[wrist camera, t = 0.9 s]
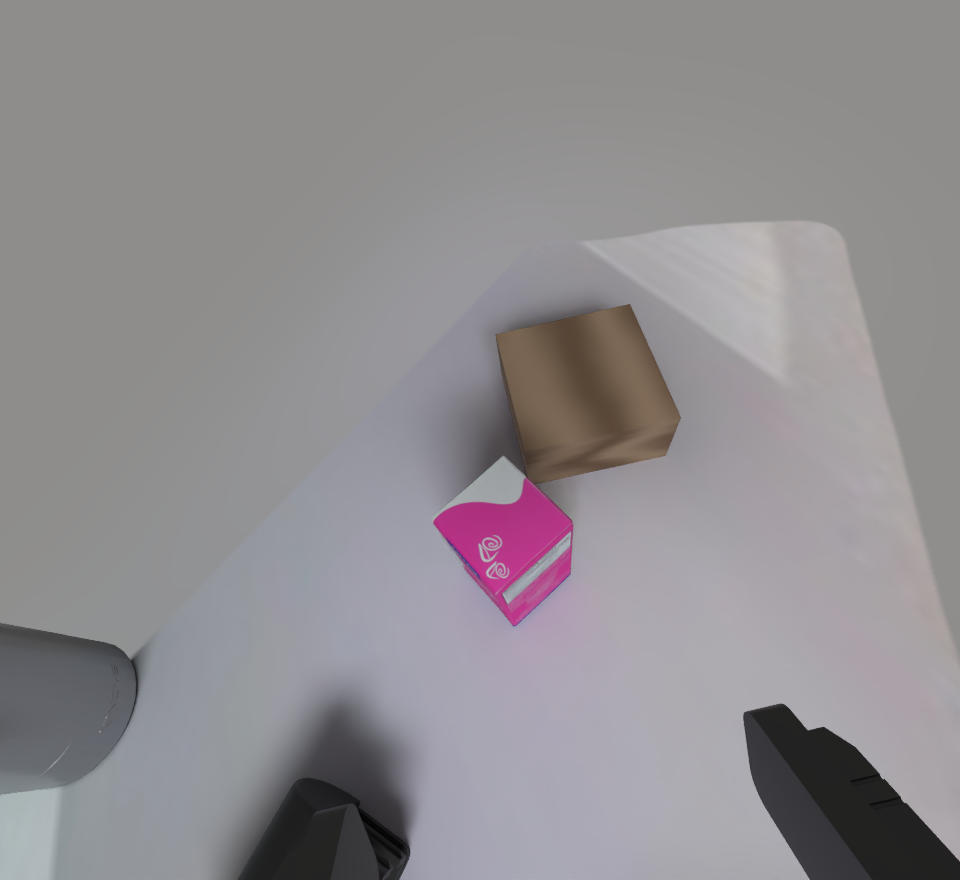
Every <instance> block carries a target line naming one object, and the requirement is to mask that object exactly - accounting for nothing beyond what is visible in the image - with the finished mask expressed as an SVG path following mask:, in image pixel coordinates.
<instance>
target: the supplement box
mask: <svg viewBox="0 0 960 880" xmlns="http://www.w3.org/2000/svg"><path fill="white" fill-rule="evenodd" d="M431 521H432V523H433V524H434V525H435V527H436V528H437V530H438V531H439V533H440V534H441V536H442V537H443V539H444V540H445V542H446V543H447V545H448V546H449V548H450V549H451V551H452V552H453V554H454V555H455V557H456V558H457V560H458V561H459V563H460V564H461V565H462V567H463V568H464V569H465V570H466V572H467V573H468V574H469V575H470V576H471V577H472V578H473V579H474V580H475V582H476V583H477V584H478V585H479V586H480V587H481V588H482V590H483V591H484V592H485V593H486V594H487V595H488V596H489V598H490V599H491V600H492V601H493V602H494V603H495V604H496V606H497V607H498V608H499V609H500V610H501V611H502V613H503V614H504V615H505V616H506V617H507V619H508V620H509V621H510V622H511V624H512V625H513V626H516V625H517V624H519V623H520V622H521V621H522V620H523V619H524V618H525V617H526V616H527V615H528V614H529V613H530V612H531V611H532V610H533V609H534V608H536V607H537V606H538V605H539V604H540V603H541V602H542V601H543V600H544V599H545V598H546V597H547V596H548V595H549V594H550V593H552V592H553V591H554V590H555V589H556V588H557V587H558V586H559V585H560V584H561V583H562V582H563V581H564V580H565V579H566V578H567V577H568V576H569V575H570V571H571V554H572V536H573V522H572V520H571V519H570V518H569V517H568V516H567V515H566V514H565V513H564V512H563V511H562V510H561V509H560V508H559V507H558V506H557V505H556V504H555V503H554V502H553V501H552V500H551V499H550V498H549V497H548V496H547V495H545V494H544V493H543V492H542V491H541V490H540V489H539V488H538V487H537V486H536V485H535V484H534V483H533V482H532V481H531V480H530V479H528V478H527V477H526V476H525V475H524V474H523V473H522V472H521V471H520V470H519V469H518V468H517V467H516V466H515V465H514V464H513V463H512V462H510V461H509V460H508V459H507V458H506V457H505V456H502V457H501V458H500V459H499V460H497V461H496V462H495V463H494V464H493V465H492V466H491V467H489V468H488V469H487V470H486V471H485V472H484V473H483V474H482V475H480V476H479V477H478V478H477V479H476V480H475V481H474V482H472V483H471V484H470V485H469V486H468V487H467V488H466V489H464V490H463V491H462V492H461V493H460V494H459V495H457V496H456V497H455V498H454V499H453V500H451V501H450V502H449V503H448V504H447V505H446V506H444V507H443V508H442V509H441V510H440V511H439V512H437V513H436V514H435V515H434V516H433V517H432V518H431Z"/></svg>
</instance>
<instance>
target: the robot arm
mask: <svg viewBox="0 0 960 880" xmlns="http://www.w3.org/2000/svg"><path fill="white" fill-rule="evenodd" d="M135 696H136V678H135V671H134V668H133V666H132V663H131V661H130V659H129V658H128V656H127V655H126V654H125V653H124V652H123V651H122V650H121V649H119V648H118V647H116V646H115V645H111V644H108V643H104V642H99V641H94V640H88V639H83V638H78V637H72V636H67V635H63V634H57V633H52V632H46V631H41V630H35V629H30V628H24V627H19V626H13V625H8V624H2V623H0V795H1V794H9V793H17V792H25V791H33V790H41V789H49V788H55V787H60V786H65V785H67V784H69V783H72V782H74V781H76V780H78V779H80V778H81V777H83V776H84V775H86V774H87V773H89V772H90V771H92V770H93V769H94V768H95V767H96V766H97V765H98V764H99V763H100V762H101V761H102V760H104V759H105V758H106V756H107V755H108V754H109V753H110V751H111V750H112V749H113V748H114V746H115V745H116V744H117V742H118V740H119V739H120V737H121V735H122V733H123V732H124V730H125V728H126V726H127V723H128V721H129V718H130V716H131V713H132V710H133V706H134V701H135ZM743 719H744V727H745V734H746V742H747V749H748V756H749V764H750V770H751V775H752V778H753V781H754V784H755V787H756V789H757V792H758V794H759V796H760V798H761V800H762V802H763V804H764V806H765V808H766V809H767V811H768V813H769V814H770V816H771V818H772V819H773V821H774V822H775V824H776V826H777V827H778V829H779V830H780V832H781V834H782V835H783V837H784V838H785V840H786V842H787V843H788V845H789V847H790V848H791V850H792V851H793V853H794V855H795V856H796V858H797V859H798V861H799V863H800V864H801V866H802V867H803V869H804V871H805V872H806V874H807V875H808V877H809V879H810V880H960V861H959V860H958V859H957V858H956V857H955V856H954V855H953V854H952V853H951V851H950V850H949V849H948V848H947V847H946V846H945V845H944V844H943V843H942V842H941V841H940V839H939V838H938V837H937V836H936V835H935V834H934V833H933V832H932V831H931V830H930V828H929V827H928V826H927V825H926V824H925V823H924V822H923V821H922V820H921V819H920V818H919V816H918V815H917V814H916V813H915V812H914V811H913V810H912V809H911V808H910V807H909V805H908V804H907V803H904V802H903V801H902V800H901V797H900V796H899V795H898V793H897V792H896V791H895V790H894V789H893V788H892V787H891V786H890V785H889V784H888V782H887V781H886V780H885V779H882V778H881V776H880V774H879V773H878V772H877V770H876V769H875V768H874V767H873V766H872V765H871V764H870V763H869V762H868V761H867V759H866V758H865V757H864V756H863V755H862V754H861V753H860V752H859V751H858V750H857V749H856V747H854V746H853V745H851V744H850V743H848V742H847V741H845V740H843V739H842V738H840V737H839V736H837V735H836V734H834V733H833V732H831V731H829V730H828V729H826V728H825V727H821V728H817V729H812V730H807V729H806V728H805V727H804V726H803V724H802V723H801V722H800V721H799V720H798V718H797V717H796V716H795V715H794V714H793V712H792V711H791V710H790V709H789V708H788V707H787V706H786V705H784V704H777V705H772V706H768V707H764V708H760V709H755V710H751V711H747V712H745V713H744V715H743ZM271 880H379V871H378V864H377V859H376V856H375V853H374V850H373V848H372V845H371V843H370V840H369V838H368V835H367V833H366V830H365V828H364V825H363V822H362V820H361V817H360V815H359V812H358V810H357V808H356V806H355V805H354V804H352V803H351V804H347V805H343V806H338V807H334V808H330V809H326V810H321V811H317V812H316V813H314V815H313V816H312V819H311V821H310V824H309V828H308V831H307V835H306V838H305V842H304V845H303V848H299V849H295V850H290V851H289V852H288V854H287V855H286V857H285V859H284V860H283V862H282V863H281V865H280V866H279V868H278V870H277V871H276V873H275V874H274V876H273V878H272V879H271Z"/></svg>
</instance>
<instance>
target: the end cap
mask: <svg viewBox="0 0 960 880" xmlns="http://www.w3.org/2000/svg"><path fill="white" fill-rule="evenodd" d="M351 803H352V804H354V805H355V806H356V808H357V810H358V812H359V815H360V817H361V820H362V822H363V825H364V828H365V830H366V833H367V835H368V838H369V840H370V843H371V845H372V848H373V850H374V853H375V856H376V859H377V864H378V871H379V880H399V879H400V877H401V875H402V873H403V871H404V869H405V867H406V864H407V862H408V860H409V856H410V850H409V847H408V846H407V844H406V843H405V842H404V841H402V840H401V839H400V838H398V837H397V836H396V835H394V834H393V833H392V832H391V831H389V830H388V829H387V828H385V827H384V826H383V825H381V824H380V823H379V822H377V821H376V820H375V819H373V818H372V817H371V816H369V815H368V814H367V813H366V812H364V811H363V810H362V809H360V808H358V806H359V804H360V801H358V800H357V799H356V798H354V797H353V796H351V795H350V794H348V793H346V792H345V791H343V790H341V789H339V788H337V787H335V786H333V785H331V784H329V783H326V782H324V781H321V780H317V779H311V778H303V779H300V780H298V781H296V782H295V783H294V785H293V786H292V788H291V789H290V791H289V793H288V795H287V796H286V798H285V800H284V801H283V803H282V805H281V807H280V808H279V810H278V812H277V813H276V815H275V817H274V819H273V820H272V822H271V824H270V825H269V827H268V829H267V831H266V832H265V834H264V836H263V838H262V839H261V841H260V843H259V844H258V846H257V848H256V850H255V851H254V853H253V855H252V856H251V858H250V860H249V862H248V863H247V865H246V867H245V868H244V870H243V872H242V874H241V875H240V877H239V879H238V880H271V879H272V878H273V876H274V874H275V873H276V871H277V870H278V868H279V866H280V865H281V863H282V862H283V860H284V859H285V857H286V855H287V854H288V852H289V851H290V850H295V849H299V848H303V845H304V842H305V838H306V835H307V831H308V828H309V824H310V821H311V819H312V816H313V815H314V813H316V812H317V811H321V810H326V809H330V808H334V807H338V806H343V805H347V804H351Z"/></svg>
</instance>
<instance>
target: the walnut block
mask: <svg viewBox="0 0 960 880" xmlns="http://www.w3.org/2000/svg"><path fill="white" fill-rule="evenodd" d="M496 341H497V347H498V353H499V359H500V366H501V372H502V378H503V382H504V386H505V390H506V394H507V398H508V402H509V406H510V410H511V414H512V418H513V422H514V426H515V430H516V434H517V438H518V442H519V446H520V450H521V454H522V458H523V462H524V467H525V471H526V475H527V478H528V479H530V480H531V481H532V482H533V483H534V484H538V483H542V482H547V481H551V480H556V479H561V478H565V477H570V476H574V475H579V474H584V473H588V472H593V471H597V470H602V469H607V468H611V467H616V466H620V465H625V464H629V463H634V462H639V461H643V460H648V459H652V458H657V457H662V456H666V453H667V451H668V448H669V446H670V443H671V441H672V438H673V436H674V433H675V431H676V428H677V426H678V423H679V421H680V418H681V417H680V415H679V412H678V410H677V408H676V406H675V403H674V401H673V399H672V397H671V395H670V392H669V390H668V388H667V386H666V383H665V381H664V379H663V377H662V375H661V372H660V370H659V368H658V366H657V363H656V361H655V359H654V357H653V355H652V352H651V350H650V348H649V346H648V343H647V341H646V339H645V337H644V335H643V332H642V330H641V328H640V326H639V323H638V321H637V319H636V317H635V314H634V312H633V310H632V308H631V306H630V304H628V305H624V306H619V307H615V308H611V309H606V310H602V311H597V312H593V313H588V314H584V315H580V316H575V317H571V318H566V319H562V320H558V321H553V322H549V323H544V324H540V325H535V326H531V327H527V328H522V329H518V330H513V331H509V332H505V333H500V334H496Z"/></svg>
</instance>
